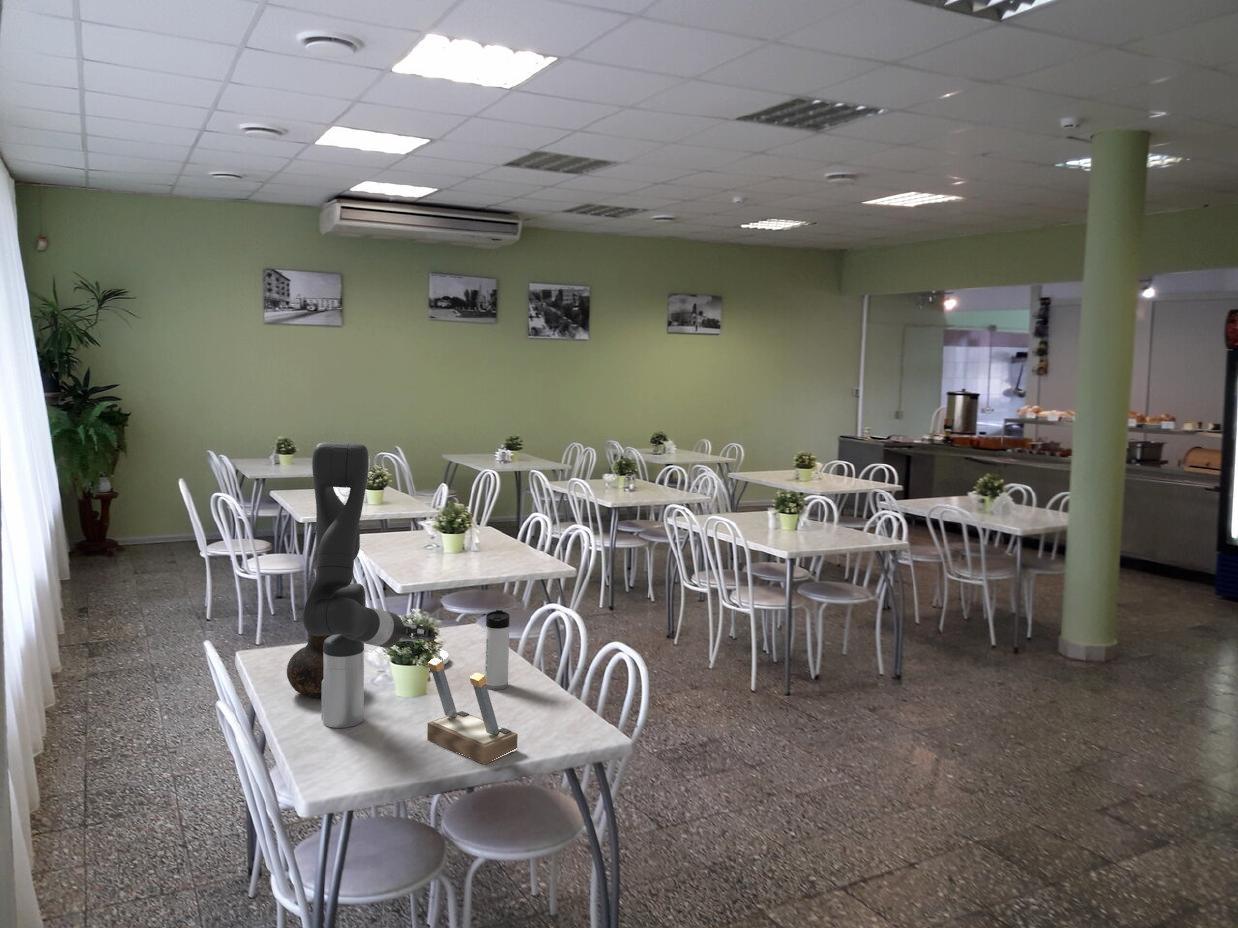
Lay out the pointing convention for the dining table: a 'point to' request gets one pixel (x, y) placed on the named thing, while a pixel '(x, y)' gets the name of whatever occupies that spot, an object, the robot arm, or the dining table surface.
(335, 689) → the robot arm
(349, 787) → the dining table surface
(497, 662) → the travel mug
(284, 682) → the dining table surface
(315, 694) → the brown vase
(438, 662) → the lever
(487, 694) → the lever
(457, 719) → the switch unit
